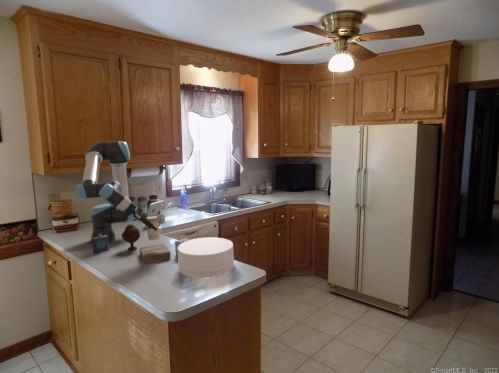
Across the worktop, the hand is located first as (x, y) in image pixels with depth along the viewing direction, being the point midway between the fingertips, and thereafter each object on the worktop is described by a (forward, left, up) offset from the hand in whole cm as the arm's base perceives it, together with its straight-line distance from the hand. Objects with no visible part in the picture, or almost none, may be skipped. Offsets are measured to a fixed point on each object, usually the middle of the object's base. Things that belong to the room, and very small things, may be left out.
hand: (160, 231), depth 191 cm
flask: (-25, -31, -14) cm, 42 cm away
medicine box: (+5, +11, -14) cm, 19 cm away
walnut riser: (0, -4, -14) cm, 14 cm away
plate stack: (+28, +18, -14) cm, 36 cm away
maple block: (0, -4, -3) cm, 5 cm away
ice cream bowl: (-20, -14, -14) cm, 28 cm away
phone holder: (-73, +8, -14) cm, 75 cm away
